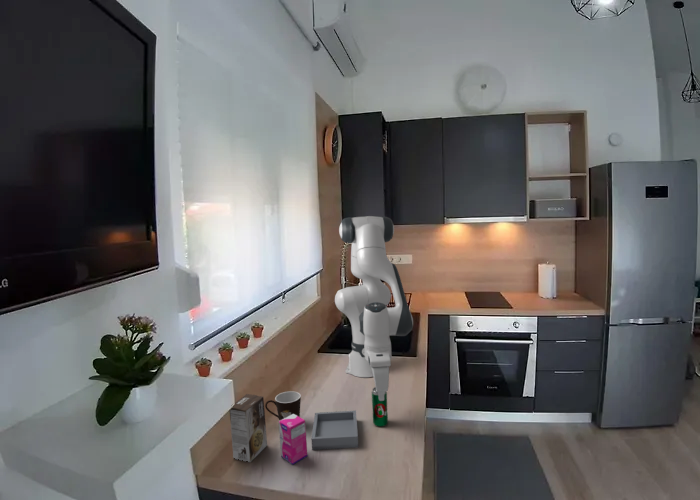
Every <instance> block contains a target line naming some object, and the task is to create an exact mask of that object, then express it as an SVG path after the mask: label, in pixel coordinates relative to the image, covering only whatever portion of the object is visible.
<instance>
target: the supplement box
mask: <svg viewBox="0 0 700 500" xmlns="http://www.w3.org/2000/svg"><path fill="white" fill-rule="evenodd" d="M306 429H307V428H306V420H305V419H304V418H302V417H299V416H297V415H295V414H292V415H290V416H288V417H286V418H284V419H282V420H280V421H279V420H278V431H279V444H280V445H279V446H280V447H279V448H280V457H281V458H282V459H284V460H286V461H287V462H288V463H290V464H291V465H294V464H296V463H298V462H300V461H302V460H304V459H305V458H307V457H308V456H309V455H308V446H307V445H308V443H307V442H308V441H307V430H306Z"/></svg>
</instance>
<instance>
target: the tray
mask: <svg viewBox="0 0 700 500" xmlns="http://www.w3.org/2000/svg"><path fill="white" fill-rule="evenodd" d="M357 421H358V419H357V410H343V411H341V410H340V411H325V412H314V418H313V426H312V430H311V451H316V450H317V451H320V450H334V449H335V450H336V449H337V450H339V449H351V448H353V449H355V448H359V436H358V435H359V432H358V422H357Z"/></svg>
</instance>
